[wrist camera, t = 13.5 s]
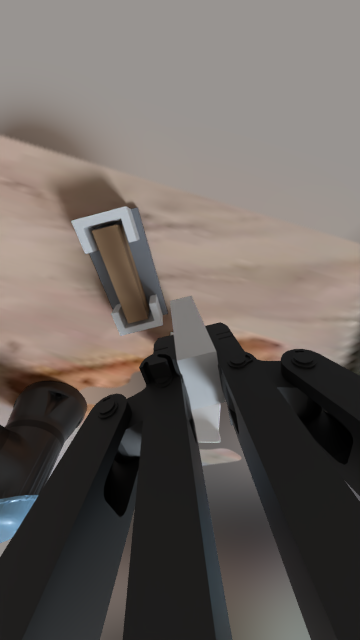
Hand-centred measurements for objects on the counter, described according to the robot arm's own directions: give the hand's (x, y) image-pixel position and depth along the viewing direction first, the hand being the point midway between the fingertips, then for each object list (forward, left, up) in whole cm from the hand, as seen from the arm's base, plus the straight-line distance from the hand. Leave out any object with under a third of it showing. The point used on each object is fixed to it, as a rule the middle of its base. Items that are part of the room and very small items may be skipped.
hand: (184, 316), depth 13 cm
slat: (-8, 0, -23) cm, 25 cm away
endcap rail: (-8, 0, -24) cm, 26 cm away
